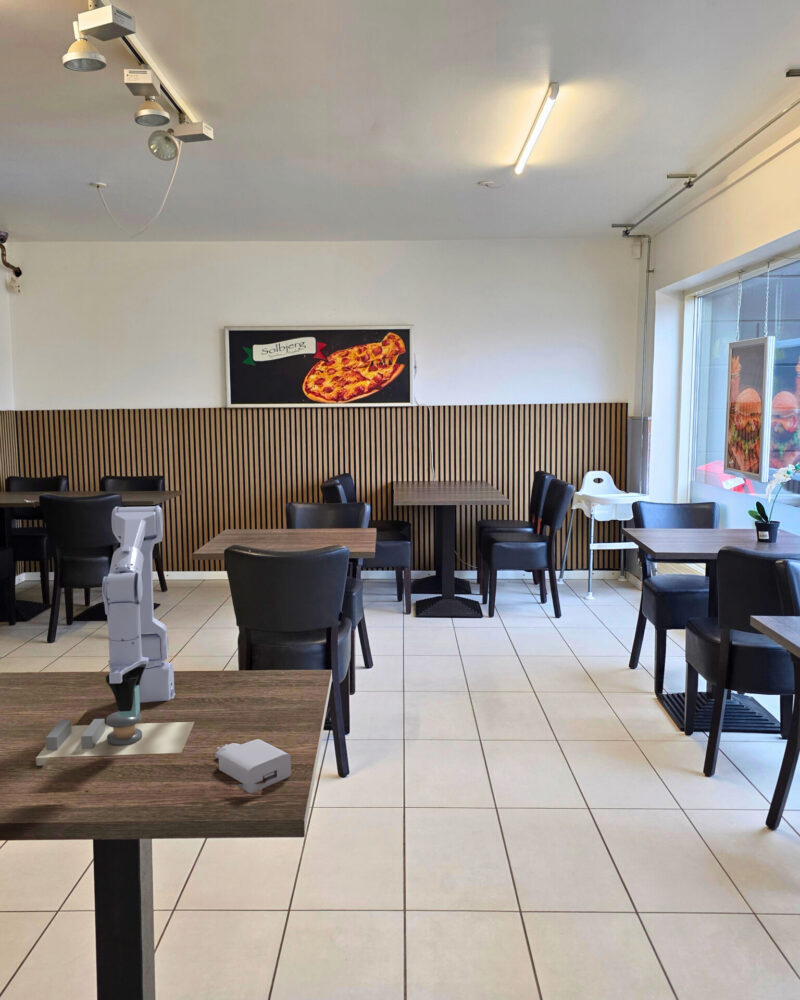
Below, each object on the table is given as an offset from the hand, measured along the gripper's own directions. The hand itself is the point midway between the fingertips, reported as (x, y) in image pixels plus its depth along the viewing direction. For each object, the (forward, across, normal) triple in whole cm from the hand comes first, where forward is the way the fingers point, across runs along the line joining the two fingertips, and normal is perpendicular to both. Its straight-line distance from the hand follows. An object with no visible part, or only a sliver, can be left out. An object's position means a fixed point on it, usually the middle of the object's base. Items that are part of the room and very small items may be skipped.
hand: (128, 706), depth 146 cm
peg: (+1, 0, 0) cm, 1 cm away
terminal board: (+9, +4, +3) cm, 10 cm away
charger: (+10, -8, -22) cm, 26 cm away
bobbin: (+8, +4, +2) cm, 9 cm away
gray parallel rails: (+8, +3, +11) cm, 14 cm away
